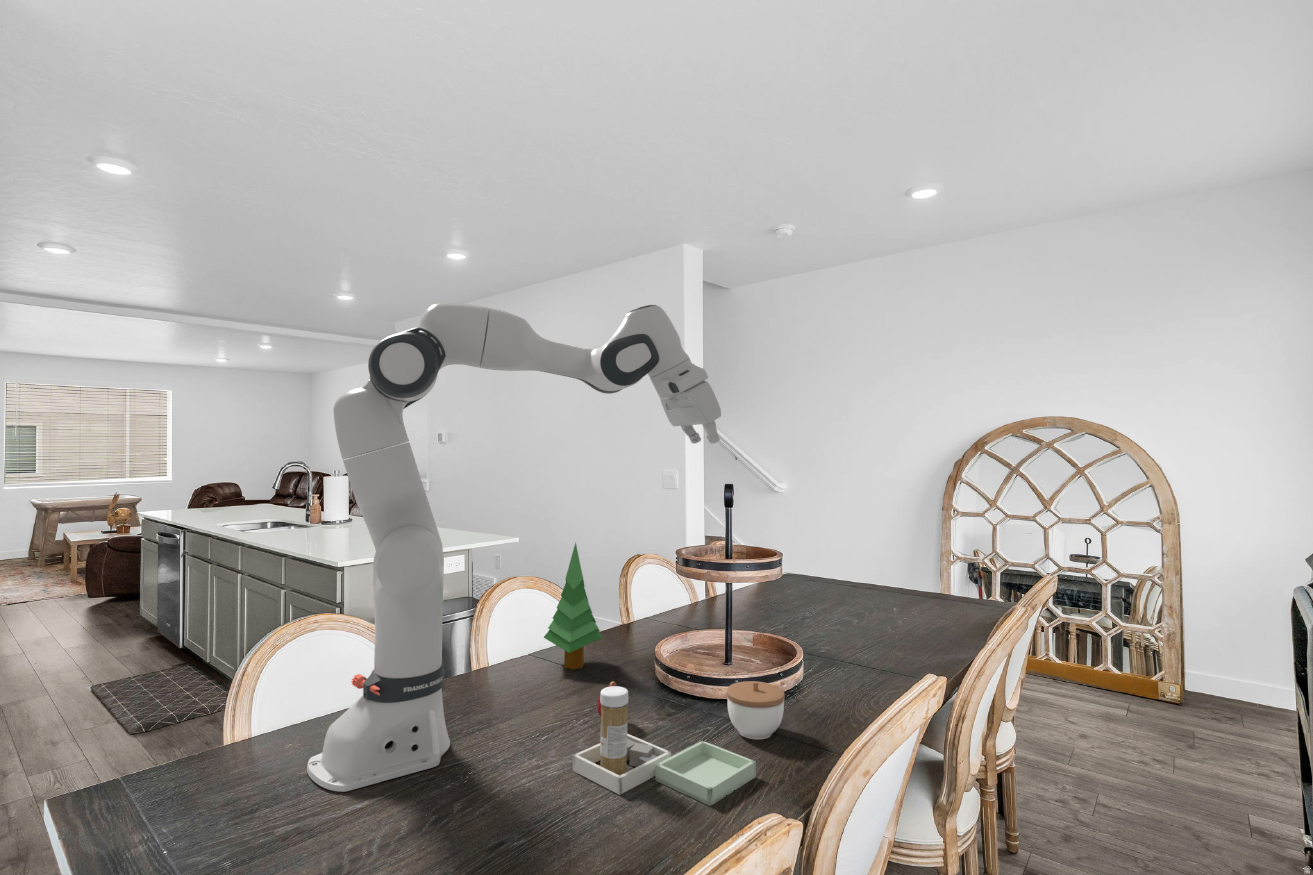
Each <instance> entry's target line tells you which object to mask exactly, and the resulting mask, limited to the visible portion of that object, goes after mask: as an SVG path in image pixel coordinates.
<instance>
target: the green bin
mask: <svg viewBox="0 0 1313 875" xmlns="http://www.w3.org/2000/svg"><path fill="white" fill-rule="evenodd" d="M756 766H757V761H756V760H753V759H750V758H748V757H745V756H743V755H740V754H738V753H735V752H734V751H733V752H732V751H730V750H727V749H725V748H724V747H721V746H718V745H715V744H712V743H711V742H707V741H704V740H700V741H699V742H697V743H695V744H692V745H691V746H689V747H687V748H685V749H683V750H681V751H679V752H677V753H675V754H674V755H671V757H670V758H668V759H666V760H664V761H662V762H660V763H658V764H656V767H655V776H654V777H655V778H654V779H655V781H656V782H657V783H660V784H662V785H664V786H665V787H668V788H670V789H672V790H675V791H677V792H679V793H681V794H683V795H685V796H687V797H690V798H691V799H694V800H695V801H698V802H700V803H702V804H705V805H706V806H709V807H712V806H713V805H714V804H717V803H718V802H719V801H721V800H722V799H724V798H726V797H727V796H728V795H730V794H732V793H733V792H735V791H737V790H738V789H739V788H741V787H743V786H744V785H745V784H747V783H749V782H750V781H752V780H753V779H755V778H757V775H756V774H757V770H756V769H757V768H756ZM734 790H735V791H734ZM726 795H727V796H726Z"/></svg>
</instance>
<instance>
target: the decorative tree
mask: <svg viewBox="0 0 1313 875" xmlns="http://www.w3.org/2000/svg"><path fill="white" fill-rule="evenodd" d="M581 566H582V565H581V562H580V556H579V552H578V547H577V542H574V546H573V549H572V553H571V557H570V560H569V565H568V568H567V572H566V575H565V578H564V579H565V583H564V587H563V590H562V592H561V594H560V596H561V597H560V599H559V602H558V604H557V606H556V611H555V613H554V615H553V617H552V622H551V623H550V624H549V625H548V627H547V629H548V631H547V632H546V634H544V636H543V638H544V639H545V640H547V641H548V642H550V643H552V644H553V645H555V646H557V647H558V648H560V649H561V650H564V659H563V660H564V663H563V664H564V667H563V668H565V669H569V670H576V669H583V667H584V662H585V660H584V657H585V655H584V654H585V653H584V652H585V646H588V645H589V644H591V643H594V642H596V641H598V640H604V639H605V638H604V637H603V635H602V634H601V632H600V631H601V630H600V628H599V627H598V625H597V621H596V618H595V617H594V615H593V611H592V608H591V606H590V603H589V598H588V595H587V592H586V590H585V581H584V576H583V571H582V567H581Z"/></svg>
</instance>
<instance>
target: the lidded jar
mask: <svg viewBox="0 0 1313 875" xmlns="http://www.w3.org/2000/svg"><path fill="white" fill-rule="evenodd" d="M726 696H727V697H726V698H727V704H726V705H727V706H726V707H727V712H728V715H729V716H728V717H729V719H730V721H731V724H732V725H733V727H734V728H735V729H736V730H737V731H738V733H739V735H740V736H742V737H743V738H746V739H747V740H748V739H749V740H753V741H754V740H755V741H759V740H761V741H762V740H765V739H766V740H767V739H769V738H771V736H772V735H773V734H774V733H775V732H776V731H777V729H779V727H780V725H781V723H782V720H783V716H784V710H785V708H784V707H785V698H786V697H785V696H786V695H785V692H784V689H782V688H781V687H779V686H777V685H775V684H772V683H769V682H768V683H767V682H765V681H764V682H763V681H754V680H753V681H749V680H748V681H747V680H746V681H738V682H735V683H732V684H730V685H729V686H728V687H727V689H726Z"/></svg>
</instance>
